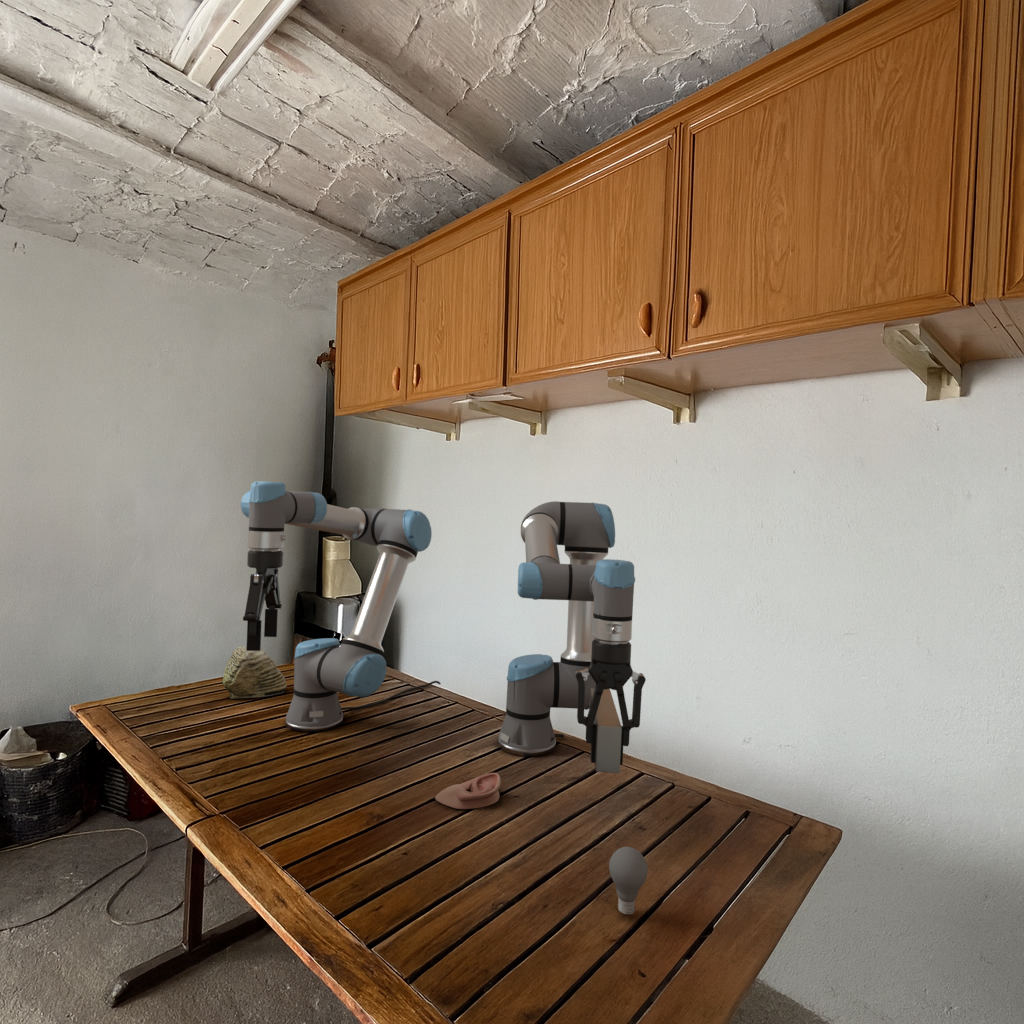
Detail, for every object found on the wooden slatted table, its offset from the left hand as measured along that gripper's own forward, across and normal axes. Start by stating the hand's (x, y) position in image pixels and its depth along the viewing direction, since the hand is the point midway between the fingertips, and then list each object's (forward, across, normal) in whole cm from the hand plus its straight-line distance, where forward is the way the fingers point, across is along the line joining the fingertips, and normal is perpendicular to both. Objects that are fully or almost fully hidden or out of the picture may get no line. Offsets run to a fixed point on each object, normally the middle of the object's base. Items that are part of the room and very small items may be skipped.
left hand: (262, 643), depth 143 cm
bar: (+15, -22, -74) cm, 79 cm away
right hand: (+14, -30, -73) cm, 80 cm away
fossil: (+29, +56, +17) cm, 66 cm away
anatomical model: (+29, -13, -47) cm, 57 cm away
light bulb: (+29, -52, -71) cm, 93 cm away
